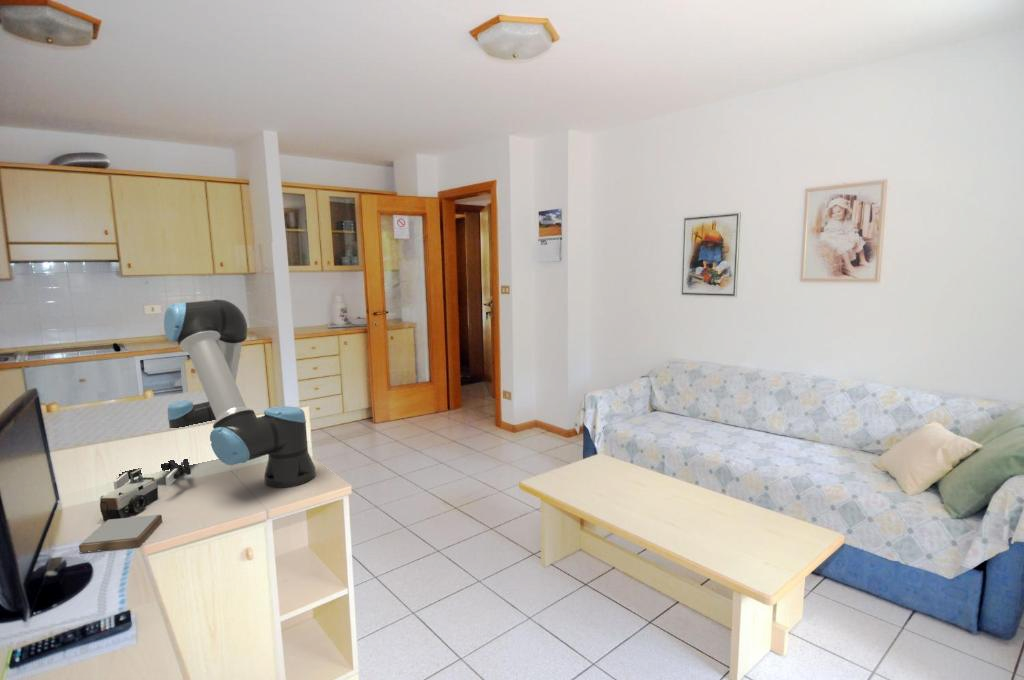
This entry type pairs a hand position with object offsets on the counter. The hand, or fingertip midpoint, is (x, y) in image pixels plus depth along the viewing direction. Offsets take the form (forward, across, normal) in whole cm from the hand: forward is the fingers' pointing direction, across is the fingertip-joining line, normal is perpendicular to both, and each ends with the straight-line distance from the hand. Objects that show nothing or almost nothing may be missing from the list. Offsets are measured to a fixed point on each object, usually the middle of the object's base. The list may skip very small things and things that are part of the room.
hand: (141, 483), depth 156 cm
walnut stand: (+20, -4, -6) cm, 21 cm away
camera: (+4, +1, -6) cm, 7 cm away
